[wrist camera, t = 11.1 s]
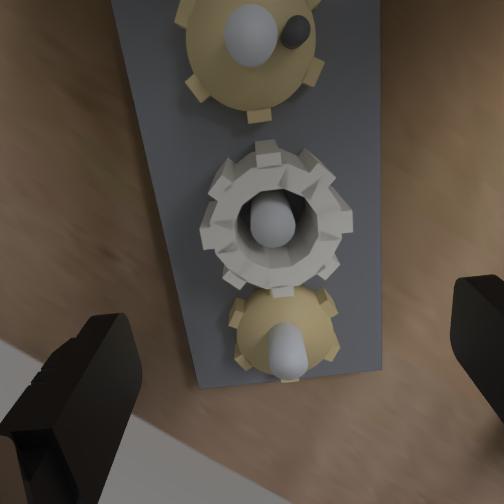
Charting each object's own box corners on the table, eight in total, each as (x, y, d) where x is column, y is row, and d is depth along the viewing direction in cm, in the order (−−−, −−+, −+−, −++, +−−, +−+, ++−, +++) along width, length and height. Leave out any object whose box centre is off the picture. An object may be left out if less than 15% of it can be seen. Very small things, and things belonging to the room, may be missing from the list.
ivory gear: (200, 148, 20) (187, 164, 16) (329, 131, 20) (350, 143, 16) (220, 265, 23) (213, 304, 19) (335, 251, 22) (354, 289, 18)
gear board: (110, -38, 18) (57, -86, 13) (369, -79, 18) (417, -145, 13) (202, 374, 28) (190, 438, 22) (375, 355, 27) (404, 417, 22)
